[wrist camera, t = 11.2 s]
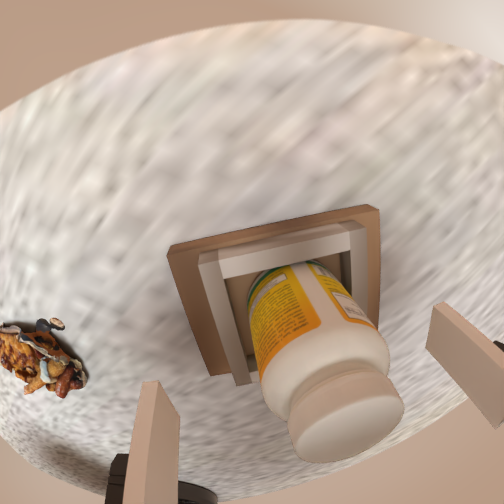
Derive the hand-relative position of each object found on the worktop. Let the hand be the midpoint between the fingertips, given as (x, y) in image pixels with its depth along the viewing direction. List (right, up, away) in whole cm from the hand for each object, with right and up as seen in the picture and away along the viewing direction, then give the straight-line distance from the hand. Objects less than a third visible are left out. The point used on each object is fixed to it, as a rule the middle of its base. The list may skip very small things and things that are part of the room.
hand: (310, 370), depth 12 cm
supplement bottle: (0, +3, +5) cm, 6 cm away
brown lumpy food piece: (-22, -3, +7) cm, 23 cm away
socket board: (-1, +3, +6) cm, 7 cm away
